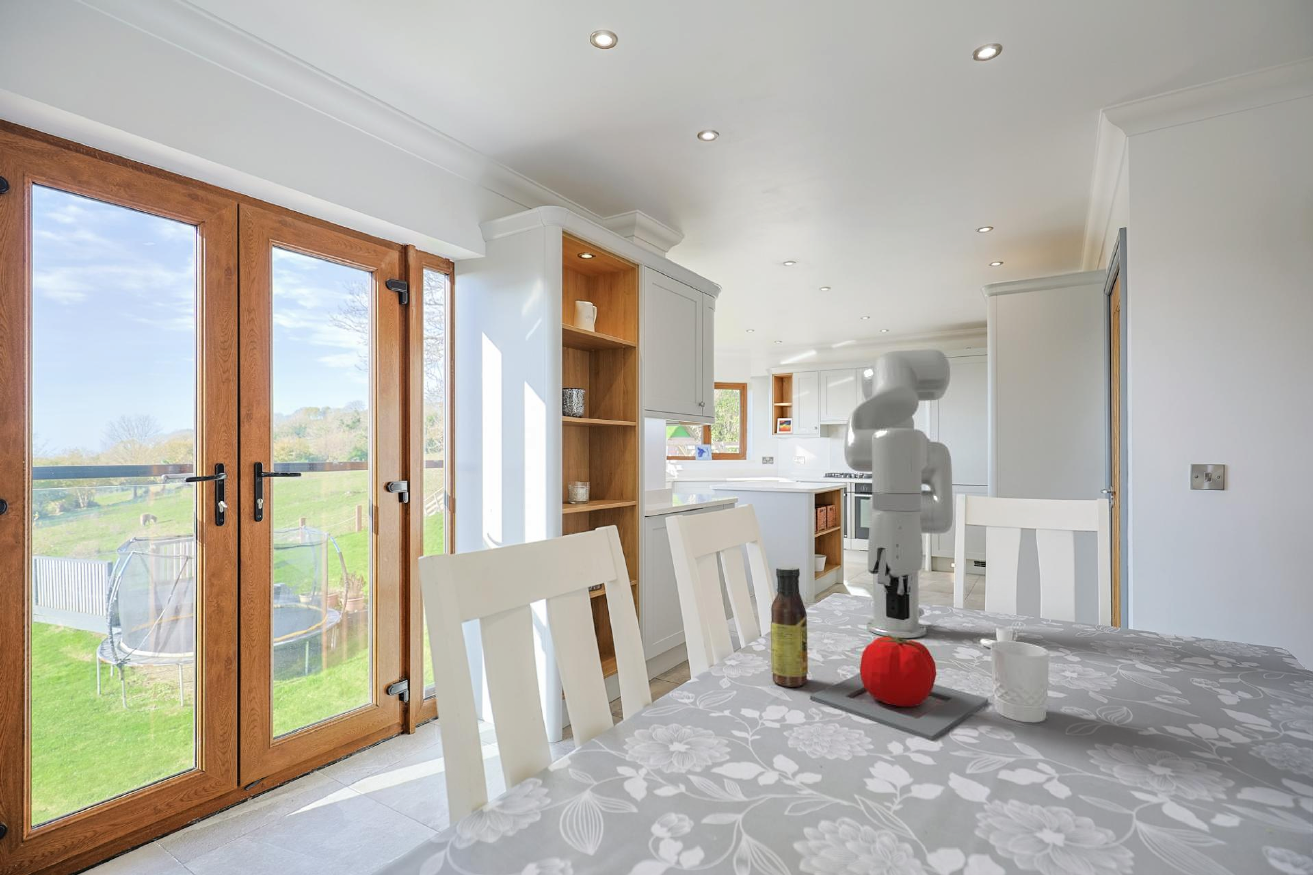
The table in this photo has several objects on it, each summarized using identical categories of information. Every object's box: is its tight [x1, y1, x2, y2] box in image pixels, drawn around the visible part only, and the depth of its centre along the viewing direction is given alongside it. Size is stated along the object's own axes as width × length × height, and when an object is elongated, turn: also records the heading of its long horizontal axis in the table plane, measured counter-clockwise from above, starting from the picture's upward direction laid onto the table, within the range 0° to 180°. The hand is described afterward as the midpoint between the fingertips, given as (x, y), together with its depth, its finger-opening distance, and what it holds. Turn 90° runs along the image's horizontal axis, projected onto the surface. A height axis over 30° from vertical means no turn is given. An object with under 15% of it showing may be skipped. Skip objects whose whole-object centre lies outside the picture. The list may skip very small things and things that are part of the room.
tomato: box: [859, 634, 937, 708], centre depth 103 cm, size 12×12×10 cm
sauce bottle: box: [770, 565, 809, 688], centre depth 112 cm, size 6×6×20 cm
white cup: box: [989, 640, 1050, 724], centre depth 98 cm, size 8×8×10 cm
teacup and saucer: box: [980, 626, 1018, 649], centre depth 132 cm, size 9×8×4 cm
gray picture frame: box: [809, 673, 989, 741], centre depth 103 cm, size 20×20×1 cm
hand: (897, 617), depth 103 cm, fingers closed
